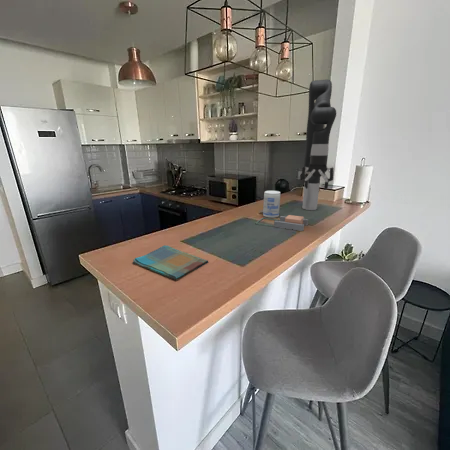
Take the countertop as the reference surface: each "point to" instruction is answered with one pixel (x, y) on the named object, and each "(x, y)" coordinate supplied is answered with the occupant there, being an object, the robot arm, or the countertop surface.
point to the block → (294, 219)
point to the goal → (266, 224)
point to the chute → (290, 224)
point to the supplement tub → (271, 204)
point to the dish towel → (170, 262)
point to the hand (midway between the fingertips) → (315, 189)
